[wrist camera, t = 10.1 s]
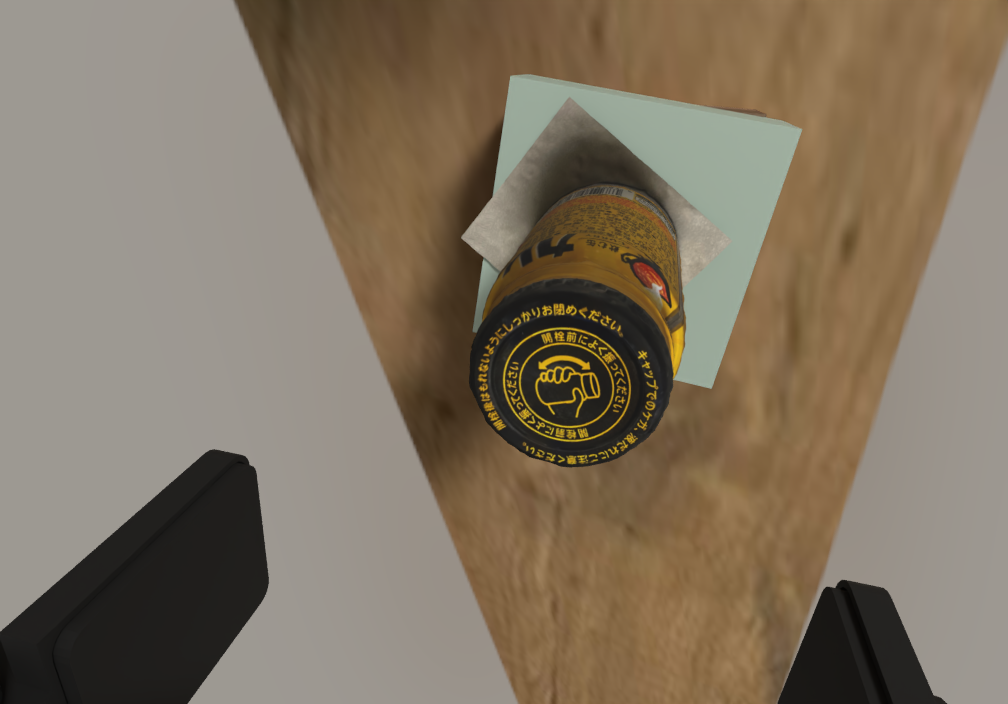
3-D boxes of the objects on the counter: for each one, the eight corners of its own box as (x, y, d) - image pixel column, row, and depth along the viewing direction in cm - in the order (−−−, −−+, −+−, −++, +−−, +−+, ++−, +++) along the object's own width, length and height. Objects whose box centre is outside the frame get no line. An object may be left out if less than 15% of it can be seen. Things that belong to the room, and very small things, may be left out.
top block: (528, 74, 28) (510, 75, 24) (782, 120, 27) (802, 129, 23) (492, 302, 33) (472, 331, 29) (705, 351, 31) (711, 388, 28)
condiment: (608, 359, 28) (576, 539, 18) (461, 236, 28) (336, 349, 17) (732, 239, 25) (784, 372, 14) (570, 95, 24) (499, 124, 14)
